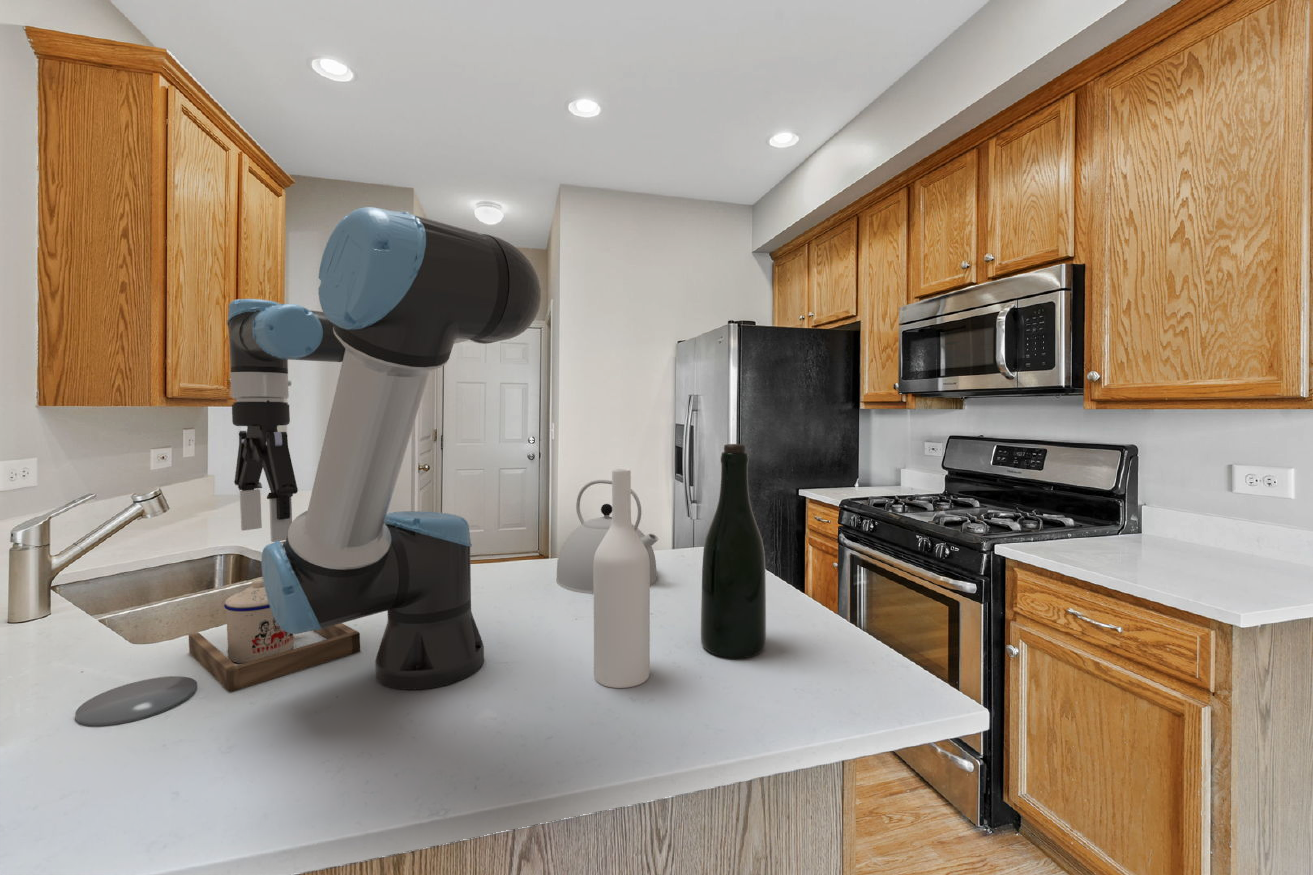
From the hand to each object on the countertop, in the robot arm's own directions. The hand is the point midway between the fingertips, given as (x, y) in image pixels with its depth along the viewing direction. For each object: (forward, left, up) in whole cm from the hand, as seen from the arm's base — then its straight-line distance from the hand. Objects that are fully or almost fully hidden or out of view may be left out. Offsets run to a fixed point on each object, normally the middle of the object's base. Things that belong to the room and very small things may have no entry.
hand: (266, 534), depth 93 cm
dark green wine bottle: (-57, -48, -19) cm, 77 cm away
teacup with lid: (0, 0, -19) cm, 19 cm away
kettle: (-16, -63, -19) cm, 67 cm away
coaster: (-6, +17, -19) cm, 26 cm away
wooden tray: (-2, 0, -19) cm, 19 cm away
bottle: (-50, -29, -19) cm, 61 cm away
